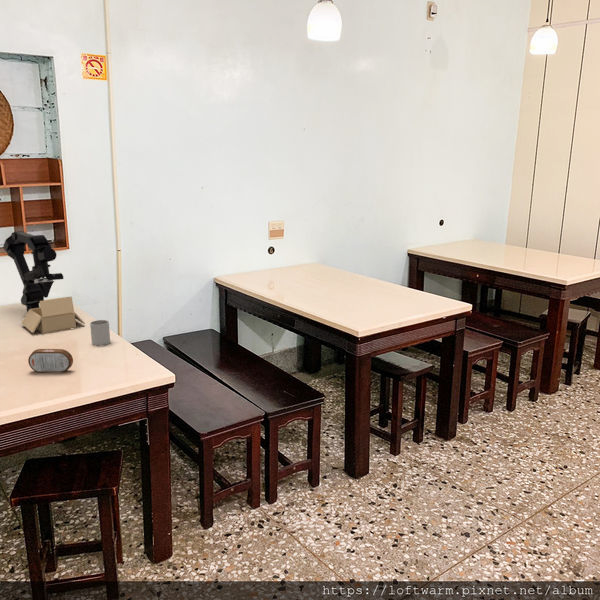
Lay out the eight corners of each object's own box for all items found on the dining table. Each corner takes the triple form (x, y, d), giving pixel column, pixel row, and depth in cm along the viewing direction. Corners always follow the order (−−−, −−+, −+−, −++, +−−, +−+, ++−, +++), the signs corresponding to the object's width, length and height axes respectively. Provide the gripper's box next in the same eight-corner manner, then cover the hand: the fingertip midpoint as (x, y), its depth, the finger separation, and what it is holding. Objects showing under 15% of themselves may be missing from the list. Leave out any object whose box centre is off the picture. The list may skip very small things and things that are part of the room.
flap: (42, 317, 254) (42, 317, 255) (74, 312, 262) (73, 312, 263) (39, 301, 254) (39, 301, 254) (71, 296, 262) (71, 296, 262)
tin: (74, 370, 215) (72, 348, 213) (71, 373, 212) (69, 350, 210) (32, 370, 215) (29, 348, 212) (28, 373, 212) (25, 351, 209)
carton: (18, 324, 270) (16, 308, 269) (69, 315, 284) (67, 301, 282) (32, 335, 254) (31, 319, 252) (85, 326, 267) (84, 311, 266)
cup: (95, 347, 240) (93, 326, 238) (87, 340, 248) (85, 320, 245) (112, 344, 244) (111, 323, 242) (104, 337, 252) (103, 317, 249)
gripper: (11, 266, 264) (16, 301, 265) (42, 261, 257) (47, 297, 258) (31, 265, 274) (36, 298, 275) (61, 260, 267) (66, 295, 268)
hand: (46, 297), depth 269 cm, fingers closed
